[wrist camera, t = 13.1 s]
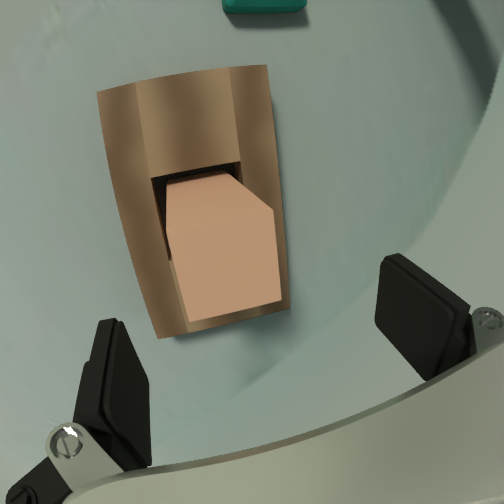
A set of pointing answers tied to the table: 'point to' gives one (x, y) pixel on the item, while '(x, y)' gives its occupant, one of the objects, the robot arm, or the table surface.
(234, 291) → the square peg
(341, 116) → the table surface
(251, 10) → the digital multimeter
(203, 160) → the wooden peg hole block
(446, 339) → the robot arm
